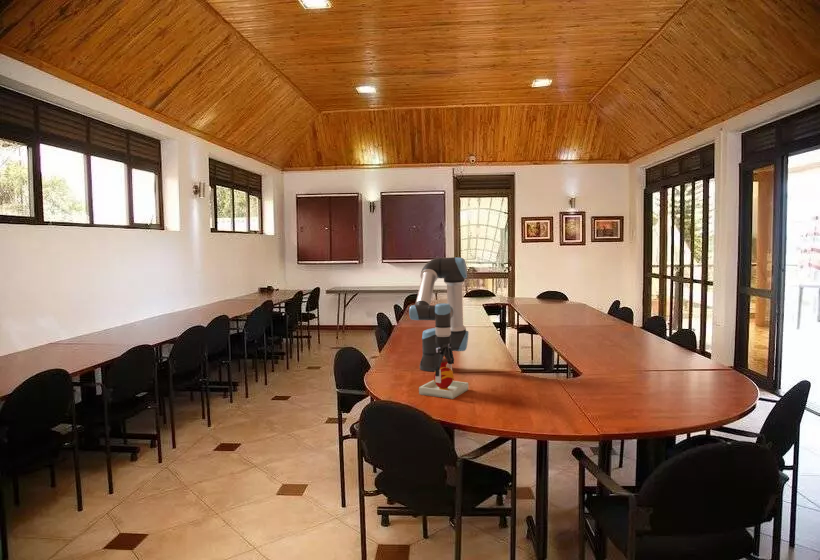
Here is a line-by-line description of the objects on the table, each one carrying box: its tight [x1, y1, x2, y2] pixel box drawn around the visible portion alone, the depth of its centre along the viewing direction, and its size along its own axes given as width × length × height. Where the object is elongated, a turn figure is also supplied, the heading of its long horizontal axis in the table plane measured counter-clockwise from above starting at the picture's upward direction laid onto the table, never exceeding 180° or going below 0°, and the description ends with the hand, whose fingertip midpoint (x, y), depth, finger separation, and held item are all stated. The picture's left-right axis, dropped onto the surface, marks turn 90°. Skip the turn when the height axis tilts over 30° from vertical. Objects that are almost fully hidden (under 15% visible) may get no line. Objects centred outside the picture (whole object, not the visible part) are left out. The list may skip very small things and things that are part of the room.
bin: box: [418, 379, 469, 400], centre depth 263 cm, size 18×18×4 cm
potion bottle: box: [433, 358, 455, 391], centre depth 263 cm, size 10×10×15 cm
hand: (443, 379), depth 263 cm, fingers open, 11 cm apart
